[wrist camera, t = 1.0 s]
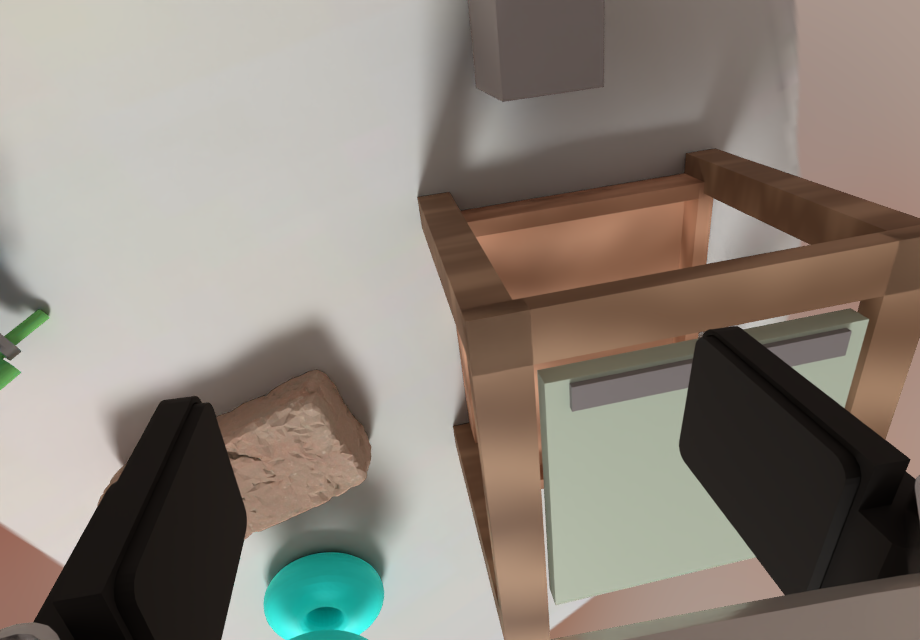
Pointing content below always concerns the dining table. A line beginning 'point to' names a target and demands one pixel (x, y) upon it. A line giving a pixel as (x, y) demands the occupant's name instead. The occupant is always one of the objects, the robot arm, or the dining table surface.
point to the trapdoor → (652, 458)
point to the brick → (292, 450)
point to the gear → (5, 345)
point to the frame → (642, 314)
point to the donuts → (324, 598)
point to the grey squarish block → (537, 46)
